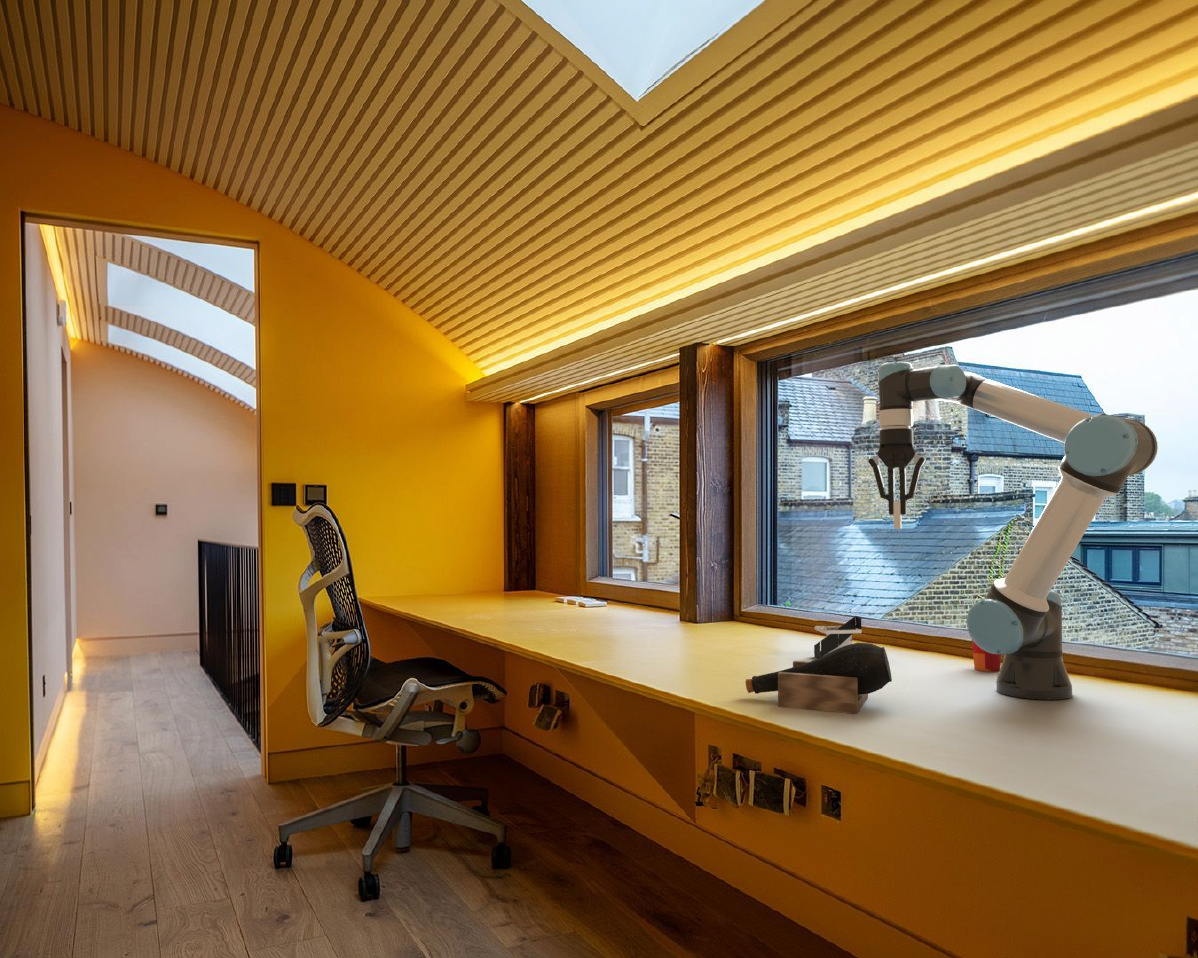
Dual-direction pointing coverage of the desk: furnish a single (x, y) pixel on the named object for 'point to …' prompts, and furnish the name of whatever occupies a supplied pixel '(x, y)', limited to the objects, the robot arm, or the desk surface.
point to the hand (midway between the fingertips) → (897, 528)
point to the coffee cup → (985, 659)
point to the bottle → (838, 669)
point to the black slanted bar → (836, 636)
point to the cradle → (819, 692)
